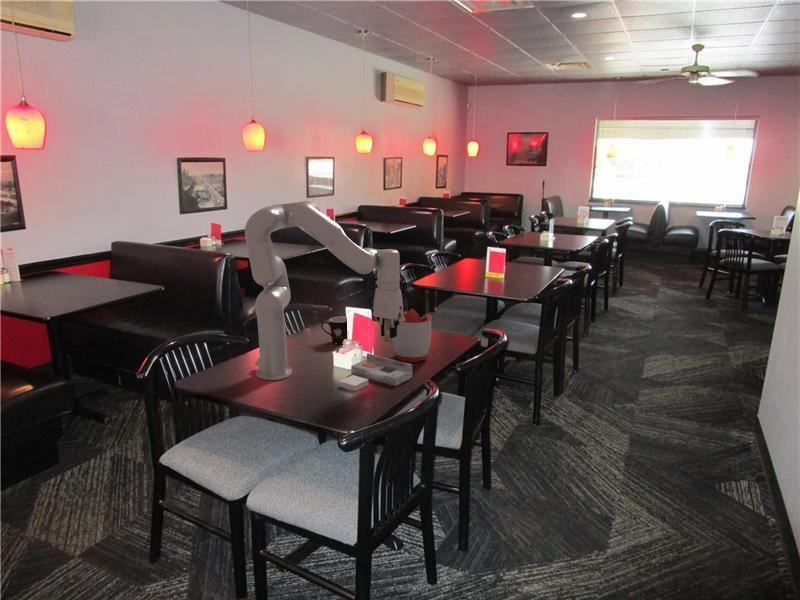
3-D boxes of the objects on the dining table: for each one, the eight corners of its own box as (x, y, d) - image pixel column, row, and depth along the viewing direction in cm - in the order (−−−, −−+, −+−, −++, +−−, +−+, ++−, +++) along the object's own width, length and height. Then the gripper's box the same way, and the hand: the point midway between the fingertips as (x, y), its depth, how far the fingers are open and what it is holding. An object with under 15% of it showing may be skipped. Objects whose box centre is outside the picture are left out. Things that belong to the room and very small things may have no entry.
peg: (382, 340, 197) (382, 319, 195) (387, 338, 199) (387, 317, 197) (389, 342, 195) (389, 320, 193) (395, 340, 198) (395, 318, 196)
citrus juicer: (440, 355, 224) (442, 306, 220) (417, 367, 210) (418, 316, 206) (408, 347, 233) (408, 301, 228) (383, 359, 219) (383, 310, 214)
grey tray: (351, 373, 204) (351, 360, 203) (368, 365, 212) (368, 353, 211) (395, 386, 193) (396, 372, 192) (412, 377, 201) (412, 364, 199)
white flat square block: (339, 386, 192) (339, 381, 192) (352, 380, 198) (352, 374, 197) (355, 391, 188) (355, 385, 188) (368, 384, 194) (368, 379, 193)
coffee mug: (354, 341, 240) (353, 318, 238) (341, 346, 233) (341, 323, 231) (332, 336, 246) (332, 314, 244) (320, 341, 239) (319, 319, 237)
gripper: (363, 284, 194) (363, 335, 198) (401, 290, 185) (401, 343, 189) (376, 280, 200) (376, 330, 204) (414, 286, 191) (414, 337, 195)
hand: (388, 336), depth 197 cm, fingers closed on peg, 3 cm apart
